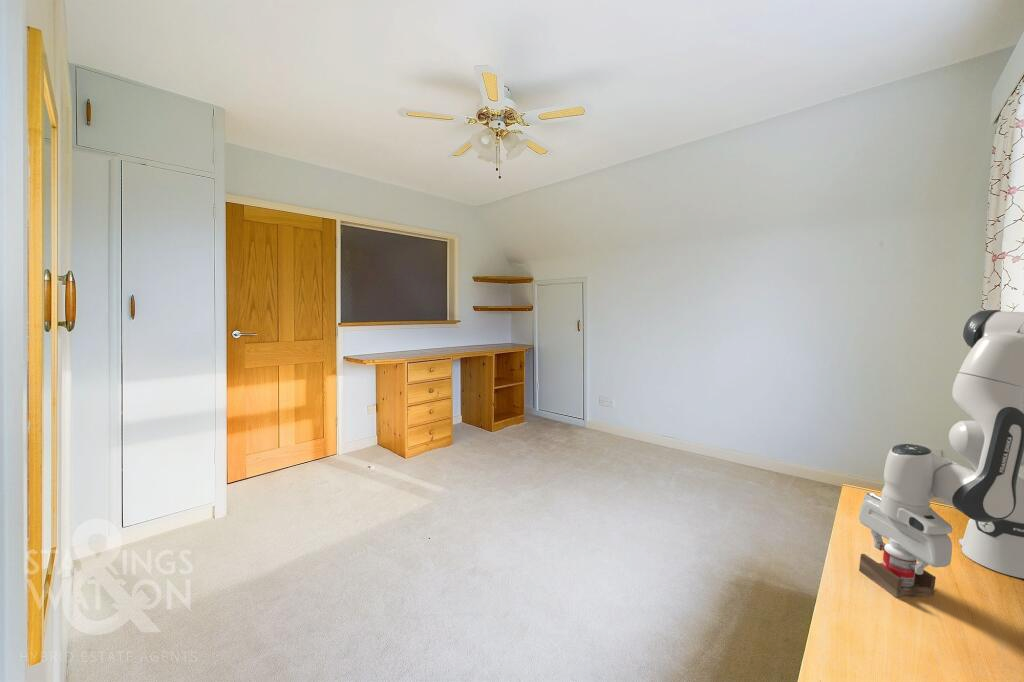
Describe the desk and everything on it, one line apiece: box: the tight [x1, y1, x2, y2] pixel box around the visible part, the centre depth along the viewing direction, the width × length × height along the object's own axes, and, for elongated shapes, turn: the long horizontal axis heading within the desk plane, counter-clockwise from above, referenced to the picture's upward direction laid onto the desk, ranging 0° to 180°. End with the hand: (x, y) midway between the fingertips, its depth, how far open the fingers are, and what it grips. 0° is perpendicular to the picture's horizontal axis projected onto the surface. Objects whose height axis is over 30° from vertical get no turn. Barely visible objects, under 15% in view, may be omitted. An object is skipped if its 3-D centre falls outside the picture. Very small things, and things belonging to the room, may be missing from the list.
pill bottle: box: [881, 538, 918, 588], centre depth 107 cm, size 6×6×11 cm
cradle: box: [858, 553, 937, 599], centre depth 108 cm, size 10×10×5 cm
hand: (897, 560), depth 107 cm, fingers open, 8 cm apart
